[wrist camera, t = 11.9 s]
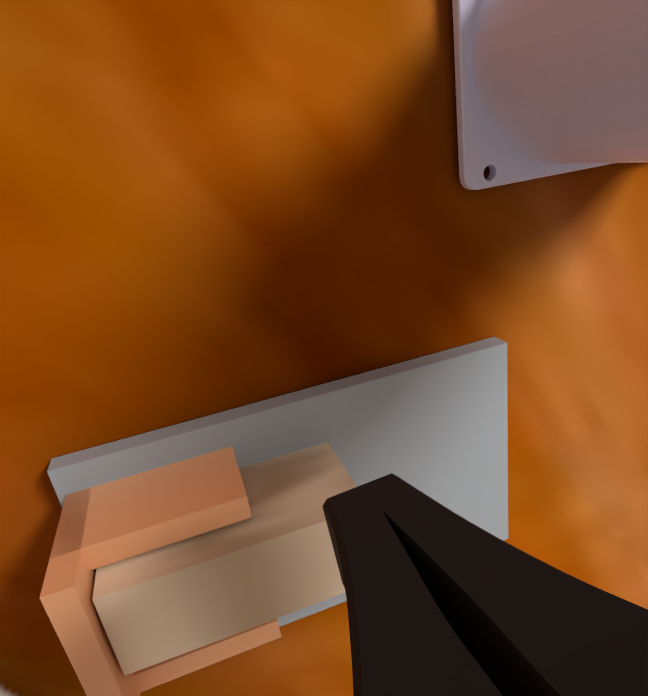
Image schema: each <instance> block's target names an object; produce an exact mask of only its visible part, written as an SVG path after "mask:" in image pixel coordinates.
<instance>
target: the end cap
mask: <svg viewBox="0 0 648 696" xmlns="http://www.w3.org/2000/svg"><path fill="white" fill-rule="evenodd" d="M251 517H252V515H251V511H250V507H249V503H248V499H247V495H246V492H245V488H244V485H243V481H242V478H241V474H240V471H239V468H238V464H237V461H236V457H235V454H234V450H233V447H232V446H231V447H227V448H224V449H221V450H217V451H214V452H210V453H207V454H203V455H200V456H197V457H193V458H190V459H186V460H183V461H180V462H176V463H173V464H169V465H166V466H162V467H159V468H156V469H152V470H149V471H145V472H142V473H139V474H135V475H132V476H128V477H125V478H121V479H118V480H115V481H111V482H108V483H104V484H101V485H98V486H94V487H91V488H87V489H84V490H80V491H77V492H74V493H70V494H67V495H66V496H65V500H64V504H63V508H62V512H61V516H60V520H59V524H58V527H57V531H56V535H55V539H54V543H53V547H52V551H51V555H50V559H49V563H48V566H47V570H46V574H45V578H44V582H43V586H42V590H41V594H40V600H41V602H42V604H43V606H44V608H45V611H46V613H47V615H48V617H49V619H50V621H51V623H52V625H53V627H54V629H55V631H56V633H57V635H58V637H59V639H60V642H61V644H62V646H63V648H64V650H65V652H66V654H67V656H68V658H69V660H70V662H71V664H72V666H73V668H74V670H75V672H76V675H77V677H78V679H79V681H80V683H81V685H82V687H83V689H84V691H85V693H86V695H87V696H141V692H143V691H145V690H148V689H150V688H153V687H155V686H158V685H161V684H163V683H166V682H168V681H171V680H173V679H176V678H178V677H181V676H184V675H186V674H189V673H191V672H194V671H196V670H199V669H201V668H204V667H207V666H209V665H212V664H214V663H217V662H219V661H222V660H224V659H227V658H230V657H232V656H235V655H237V654H240V653H242V652H245V651H247V650H250V649H252V648H255V647H258V646H260V645H263V644H265V643H268V642H270V641H273V640H275V639H278V638H281V637H282V636H281V632H280V628H279V624H278V620H277V618H276V619H274V620H271V621H268V622H266V623H263V624H260V625H258V626H255V627H252V628H250V629H247V630H245V631H242V632H239V633H237V634H234V635H231V636H229V637H226V638H223V639H221V640H218V641H215V642H213V643H210V644H207V645H205V646H202V647H199V648H197V649H194V650H191V651H189V652H186V653H184V654H181V655H178V656H176V657H173V658H170V659H168V660H165V661H162V662H160V663H157V664H154V665H152V666H149V667H146V668H144V669H141V670H138V671H136V672H133V673H131V674H128V675H125V676H124V674H123V671H122V669H121V666H120V664H119V662H118V659H117V657H116V655H115V652H114V650H113V648H112V645H111V643H110V640H109V638H108V636H107V633H106V631H105V629H104V626H103V624H102V622H101V619H100V617H99V614H98V612H97V610H96V607H95V605H94V603H93V600H92V599H93V591H94V584H95V576H96V569H97V568H99V567H102V566H105V565H108V564H111V563H114V562H117V561H120V560H123V559H127V558H130V557H133V556H136V555H139V554H142V553H145V552H148V551H151V550H154V549H157V548H160V547H163V546H166V545H169V544H172V543H175V542H178V541H181V540H184V539H187V538H190V537H193V536H196V535H199V534H202V533H206V532H209V531H212V530H215V529H218V528H221V527H224V526H227V525H230V524H233V523H236V522H239V521H242V520H245V519H248V518H251Z"/></svg>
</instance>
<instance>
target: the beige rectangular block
mask: <svg viewBox="0 0 648 696" xmlns="http://www.w3.org/2000/svg"><path fill="white" fill-rule="evenodd" d="M239 471H240V474H241V478H242V481H243V485H244V488H245V492H246V495H247V499H248V503H249V507H250V511H251V515H252V517H251V518H248V519H245V520H242V521H239V522H236V523H233V524H230V525H227V526H224V527H221V528H218V529H215V530H212V531H209V532H206V533H202V534H199V535H196V536H193V537H190V538H187V539H184V540H181V541H178V542H175V543H172V544H169V545H166V546H163V547H160V548H157V549H154V550H151V551H148V552H145V553H142V554H139V555H136V556H133V557H130V558H127V559H123V560H120V561H117V562H114V563H111V564H108V565H105V566H102V567H99V568H97V569H96V576H95V584H94V591H93V599H92V600H93V603H94V605H95V607H96V610H97V612H98V614H99V617H100V619H101V622H102V624H103V626H104V629H105V631H106V633H107V636H108V638H109V640H110V643H111V645H112V648H113V650H114V652H115V655H116V657H117V659H118V662H119V664H120V666H121V669H122V671H123V674H124V676H125V675H128V674H131V673H133V672H136V671H138V670H141V669H144V668H146V667H149V666H152V665H154V664H157V663H160V662H162V661H165V660H168V659H170V658H173V657H176V656H178V655H181V654H184V653H186V652H189V651H191V650H194V649H197V648H199V647H202V646H205V645H207V644H210V643H213V642H215V641H218V640H221V639H223V638H226V637H229V636H231V635H234V634H237V633H239V632H242V631H245V630H247V629H250V628H252V627H255V626H258V625H260V624H263V623H266V622H268V621H271V620H274V619H276V618H279V617H282V616H284V615H287V614H290V613H292V612H295V611H298V610H300V609H303V608H305V607H308V606H311V605H313V604H316V603H319V602H321V601H324V600H327V599H329V598H332V597H335V596H337V595H340V594H343V593H345V588H344V586H343V583H342V580H341V576H340V572H339V568H338V565H337V561H336V557H335V553H334V549H333V545H332V542H331V538H330V534H329V530H328V526H327V523H326V519H325V515H324V511H323V507H322V506H323V504H324V503H325V501H326V499H327V498H330V497H332V496H335V495H337V494H340V493H342V492H345V491H347V490H350V489H353V488H355V487H357V486H356V485H355V483H354V482H353V480H352V478H351V477H350V475H349V474H348V472H347V471H346V469H345V468H344V466H343V464H342V463H341V461H340V460H339V458H338V457H337V455H336V454H335V452H334V450H333V449H332V447H331V446H330V444H329V443H328V442H326V443H322V444H319V445H316V446H312V447H309V448H306V449H302V450H299V451H296V452H292V453H289V454H286V455H282V456H279V457H276V458H272V459H269V460H266V461H262V462H259V463H256V464H252V465H249V466H246V467H242V468H239Z"/></svg>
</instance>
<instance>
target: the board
mask: <svg viewBox="0 0 648 696" xmlns="http://www.w3.org/2000/svg"><path fill="white" fill-rule="evenodd" d="M326 442H328V443H329V444H330V446H331V447H332V449H333V450H334V452H335V454H336V455H337V457H338V458H339V460H340V461H341V463H342V464H343V466H344V468H345V469H346V471H347V472H348V474H349V475H350V477H351V478H352V480H353V482H354V483H355V485H356V486H357V487H358V486H360V485H363V484H365V483H368V482H370V481H373V480H376V479H378V478H381V477H383V476H386V475H388V474H391V473H392V474H394V475H396V476H398V477H400V478H401V479H403V480H404V481H406V482H407V483H409V484H410V485H412V486H413V487H415V488H416V489H418V490H420V491H421V492H423V493H424V494H426V495H427V496H429V497H430V498H432V499H434V500H435V501H437V502H438V503H440V504H442V505H443V506H445V507H446V508H448V509H450V510H451V511H453V512H454V513H456V514H458V515H459V516H461V517H463V518H464V519H466V520H468V521H469V522H471V523H473V524H475V525H476V526H478V527H480V528H482V529H483V530H485V531H487V532H489V533H490V534H492V535H494V536H496V537H497V538H499V539H501V540H506V539H508V427H507V343H506V342H504V341H502V340H500V339H498V338H496V337H492V338H488V339H484V340H481V341H477V342H474V343H470V344H466V345H463V346H459V347H455V348H452V349H448V350H444V351H441V352H437V353H434V354H430V355H426V356H423V357H419V358H415V359H412V360H408V361H404V362H401V363H397V364H394V365H390V366H386V367H383V368H379V369H375V370H372V371H368V372H365V373H361V374H357V375H354V376H350V377H346V378H343V379H339V380H335V381H332V382H328V383H325V384H321V385H317V386H314V387H310V388H306V389H303V390H299V391H295V392H292V393H288V394H285V395H281V396H277V397H274V398H270V399H266V400H263V401H259V402H256V403H252V404H248V405H245V406H241V407H237V408H234V409H230V410H226V411H223V412H219V413H216V414H212V415H208V416H205V417H201V418H197V419H194V420H190V421H186V422H183V423H179V424H176V425H172V426H168V427H165V428H161V429H157V430H154V431H150V432H147V433H143V434H139V435H136V436H132V437H128V438H125V439H121V440H117V441H114V442H110V443H107V444H103V445H99V446H96V447H92V448H88V449H85V450H81V451H77V452H74V453H70V454H67V455H63V456H59V457H56V458H52V459H51V461H50V464H49V467H48V470H47V473H48V475H49V478H50V480H51V483H52V485H53V487H54V490H55V492H56V494H57V497H58V499H59V501H60V504H61V506H62V508H63V504H64V500H65V496H66V495H67V494H70V493H74V492H77V491H80V490H84V489H87V488H91V487H94V486H98V485H101V484H104V483H108V482H111V481H115V480H118V479H121V478H125V477H128V476H132V475H135V474H139V473H142V472H145V471H149V470H152V469H156V468H159V467H162V466H166V465H169V464H173V463H176V462H180V461H183V460H186V459H190V458H193V457H197V456H200V455H203V454H207V453H210V452H214V451H217V450H221V449H224V448H227V447H231V446H232V447H233V450H234V454H235V457H236V461H237V464H238V468H242V467H246V466H249V465H252V464H256V463H259V462H262V461H266V460H269V459H272V458H276V457H279V456H282V455H286V454H289V453H292V452H296V451H299V450H302V449H306V448H309V447H312V446H316V445H319V444H322V443H326ZM345 601H347V599H346V592H345V593H343V594H340V595H337V596H335V597H332V598H329V599H327V600H324V601H321V602H319V603H316V604H313V605H311V606H308V607H305V608H303V609H300V610H298V611H295V612H292V613H290V614H287V615H284V616H282V617H279V618H277V620H278V624H279V627H280V626H283V625H285V624H288V623H291V622H293V621H296V620H298V619H301V618H304V617H306V616H309V615H311V614H314V613H317V612H319V611H322V610H324V609H327V608H330V607H332V606H335V605H337V604H340V603H342V602H345Z"/></svg>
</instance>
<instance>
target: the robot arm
mask: <svg viewBox="0 0 648 696" xmlns="http://www.w3.org/2000/svg"><path fill="white" fill-rule="evenodd" d="M452 5H453V30H454V56H455V81H456V106H457V132H458V157H459V178H460V183H461V184H462V186H463V187H464V188H466V189H468V190H480V189H485V188H490V187H495V186H500V185H506V184H511V183H516V182H521V181H526V180H531V179H536V178H541V177H547V176H552V175H557V174H562V173H567V172H572V171H577V170H583V169H588V168H593V167H598V166H603V165H608V164H613V163H648V0H452ZM486 166H488V167H489V170H490V173H489V176H488V178H487V179H485V178H484V175H483V173H484V169H485V168H486ZM322 507H323V511H324V515H325V519H326V523H327V526H328V530H329V534H330V538H331V542H332V545H333V549H334V553H335V557H336V561H337V565H338V568H339V572H340V576H341V580H342V583H343V586H344V588H345V592H346V599H347V607H348V618H349V630H350V642H351V655H352V670H353V693H354V696H648V609H645V608H643V607H640V606H638V605H636V604H633V603H631V602H629V601H626V600H624V599H622V598H619V597H617V596H615V595H612V594H610V593H608V592H605V591H603V590H601V589H598V588H596V587H594V586H592V585H590V584H588V583H585V582H583V581H581V580H579V579H577V578H575V577H573V576H571V575H569V574H566V573H564V572H562V571H560V570H558V569H556V568H554V567H552V566H550V565H548V564H546V563H544V562H542V561H540V560H539V559H537V558H535V557H533V556H531V555H529V554H527V553H525V552H523V551H521V550H519V549H517V548H516V547H514V546H512V545H510V544H508V543H506V542H505V541H503V540H501V539H499V538H497V537H496V536H494V535H492V534H490V533H489V532H487V531H485V530H483V529H482V528H480V527H478V526H476V525H475V524H473V523H471V522H469V521H468V520H466V519H464V518H463V517H461V516H459V515H458V514H456V513H454V512H453V511H451V510H450V509H448V508H446V507H445V506H443V505H442V504H440V503H438V502H437V501H435V500H434V499H432V498H430V497H429V496H427V495H426V494H424V493H423V492H421V491H420V490H418V489H416V488H415V487H413V486H412V485H410V484H409V483H407V482H406V481H404V480H403V479H401V478H400V477H398V476H396V475H394V474H392V473H391V474H388V475H386V476H383V477H381V478H378V479H376V480H373V481H370V482H368V483H365V484H363V485H360V486H358V487H355V488H353V489H350V490H347V491H345V492H342V493H340V494H337V495H335V496H332V497H330V498H327V499H326V501H325V503H324V504H323V506H322Z"/></svg>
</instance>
